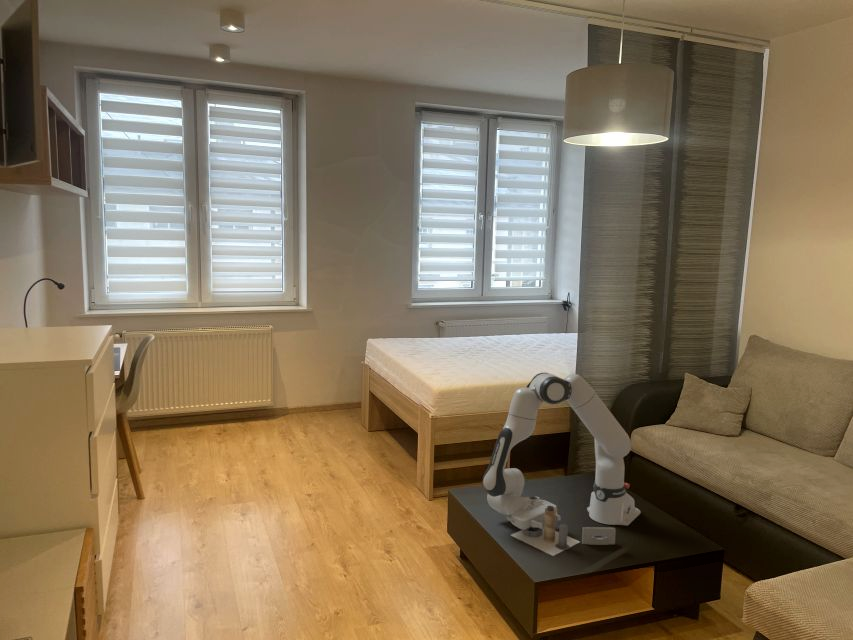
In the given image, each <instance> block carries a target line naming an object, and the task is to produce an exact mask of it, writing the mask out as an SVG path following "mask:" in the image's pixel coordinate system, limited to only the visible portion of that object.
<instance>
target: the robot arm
mask: <svg viewBox="0 0 853 640" xmlns="http://www.w3.org/2000/svg"><path fill="white" fill-rule="evenodd" d="M511 398H512V399H511V401H510V405H509V410H508V415H507V418H506V421H505V423H504V425H503V427H502V429H501V430H500V432H499V433H498V436H497V439H496V441H495V445H494V448H493V451H492V455H491V458H490V460H489V464H488V466H487V468H486V470H485V472H484V474H483V476H482V486H483V489H484V491H485V492H486V493H487V495H486V499H487V503H488V505H489V506H490V508H491V509H493V510H494V511H496V512H497V513H500V514H502V515H504V516H506V519H507V521H509V522H511V524H512V525H513V526H515V528H516V527H517V528H518V529H520V530H523V529H524V530H525V529H527V528H529V527H536V528H540V529H542V528H544V522H545V508H547V506H553V507H554V508H555V509H556V522H558V521H561V515H559V514H558V506H557V505H556V504H554V503H552V502H550V501H548V500H545V499H541V498H540V497H539V496H530V497H529V496H527V497H525V496H524V497H523V496H522V495H523V492H524V489H525V484H526V478H525V475H524V474H523V472H522V471H521V470H520V469H518V468H516V467H514V468H513V467H511V468H510V467H509V468H506V465H507V462H508V458H509V455H510V454H511V453H510V452H511V450H512V449H513V448H514V447H515V446H517V444H519V443H521V442H522V441H524V440H527V438H530V436H531V435H532V434H533V432H534V431H535V428H536V424H537V423H536V422H537V417H538V412H539V409H540V407H541V406H542V404H543V403H546V404H548V405H557V404H560V403H562V402H564V401H565V402H567V403H568V404H569V406H570V408H571V409H572V410H573V411H574V413H575V414H576V415H577V417H578V419H579V420H580V421H581V422H582V423H583V424H584V426H585V427H586V429H587V430H588V431H589V433H590V434H591V436H592V437H593V439H594V454H595V455H594V457H595V477H594V478H595V480H594V481H593V486H592V487H593V491H592V492H591V494H590V502H589V506H588V507H587V508H586V510H587V512H588V515H589V517H590V519H592V520H593V521H595V522H596V523H600V524H604V525H610V526H611V525H613V526H615V525H618V526H619V525H620V526H629V525H630V524H631V523H632V522H634V521H635V520H636V519H637V517H638V516H640V515H641V510H640V509H639V508H637V507H635V502H636V501H635V499H634V497H632V496H631V495H630V494H628V493H627V491H626V489H627V490H629V489H630V483H627V482H625V461H624V457H626V456H627V455H628V454H629V453H630V452H631V448H632V442H631V439H630V436H629V435H628V433H627V432H626V431H625V428H623V427H622V426H621V424H620V423H619V421H618V420H617V419H616V418H615V416H614V414H613V413H612V412H611V411H610V410H609V408H608V407H607V406H606V404H605V403H604V402H603V400H602V399H601V397H600V396H599V395H598V394H597V392H596V391H595V390H594V388H593V387H592V386H591V385H590V384H589V382H588V381H586V380H585V378H583V377H582V376H581V375H580V374H577V373H571V374H568V375H566V376H565V377H564V378H561V377H559V376H557V375H555V374H552V373H549V372H540V373H539V372H538V373H537V374H536V375H534V376H533V377H532V379H531V380H530V381H529V383H528V384H526V387H520V388H517V389H516V390H515V391H514V393H513V396H512V397H511Z"/></svg>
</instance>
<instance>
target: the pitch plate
mask: <svg viewBox="0 0 853 640" xmlns="http://www.w3.org/2000/svg"><path fill="white" fill-rule="evenodd" d="M568 527H569V526H568V525H567V524H566V523H560V524H559V525H558V531H557V530H555V542H554V543H547V542H545V541H544V528H542V529H540V528H536V527H529V528H527V529H525V530H524V529H520V530H519V531H516V532H514V533H512V534H510V536H511V537H513V538H514V539H517V540H519V541H522V542H524V543H525V544H528V545H529V546H532V547H533V548H536V549H538V550H540V551H542V552H543V553H546V554H547V555H551V556H552V557H554V556H556V555H558V554H560V553H562V552H564V551H567V550H569V549H570V548H571V547H573V546H575V545H577V544H579V543H581V541H579V539H578V540H577V539H575V538H572V537H571V536H569V535H568Z"/></svg>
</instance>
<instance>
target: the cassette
mask: <svg viewBox="0 0 853 640" xmlns="http://www.w3.org/2000/svg"><path fill="white" fill-rule="evenodd" d="M616 531H617V530H616V527H607V526H606V527H601V526H599V527H595V526H593V527H592V526H591V527H589V526H587V527H586V526H583V527H582V532H581V533H582V534H581V545H591V546H592V545H598V546H599V545H600V546H604V545H606V546H609V545H616Z"/></svg>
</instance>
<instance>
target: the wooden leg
mask: <svg viewBox="0 0 853 640" xmlns="http://www.w3.org/2000/svg"><path fill="white" fill-rule="evenodd" d="M543 523H544V541H545V542H547V543H554V542H555V531H556V524H557V521H556V509H555V508H554V507H553V506H547V508H545V521H543Z"/></svg>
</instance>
